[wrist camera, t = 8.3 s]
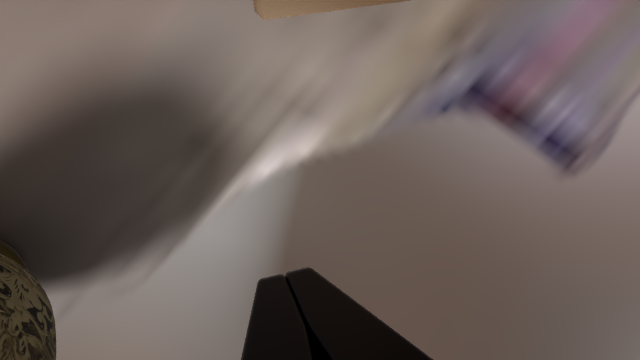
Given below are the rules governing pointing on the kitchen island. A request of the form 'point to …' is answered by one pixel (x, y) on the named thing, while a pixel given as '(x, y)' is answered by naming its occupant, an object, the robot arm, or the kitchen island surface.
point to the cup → (23, 312)
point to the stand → (308, 6)
